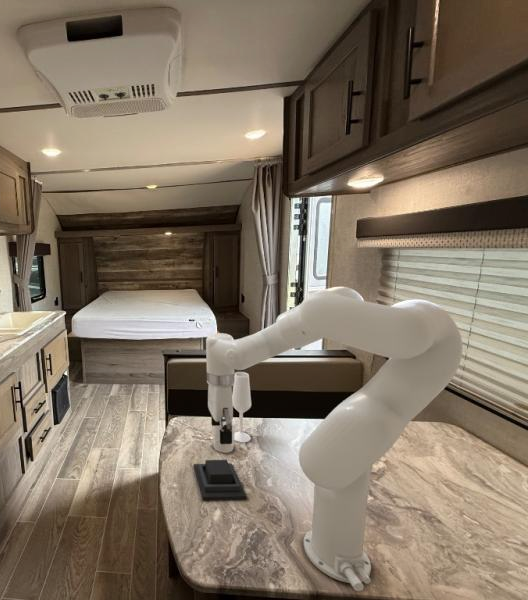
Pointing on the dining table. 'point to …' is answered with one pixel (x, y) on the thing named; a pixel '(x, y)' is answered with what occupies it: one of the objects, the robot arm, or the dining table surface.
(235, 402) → the champagne flute
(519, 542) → the dining table surface
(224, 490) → the base pad
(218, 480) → the black pad
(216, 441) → the white cup
